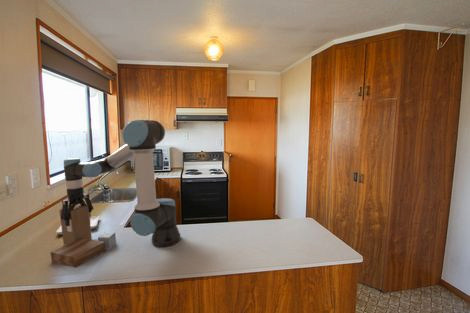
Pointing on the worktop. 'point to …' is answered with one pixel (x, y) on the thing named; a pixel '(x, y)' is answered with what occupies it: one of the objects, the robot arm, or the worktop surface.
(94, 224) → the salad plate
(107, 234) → the slate cube
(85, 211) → the block
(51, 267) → the worktop surface
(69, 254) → the plinth
